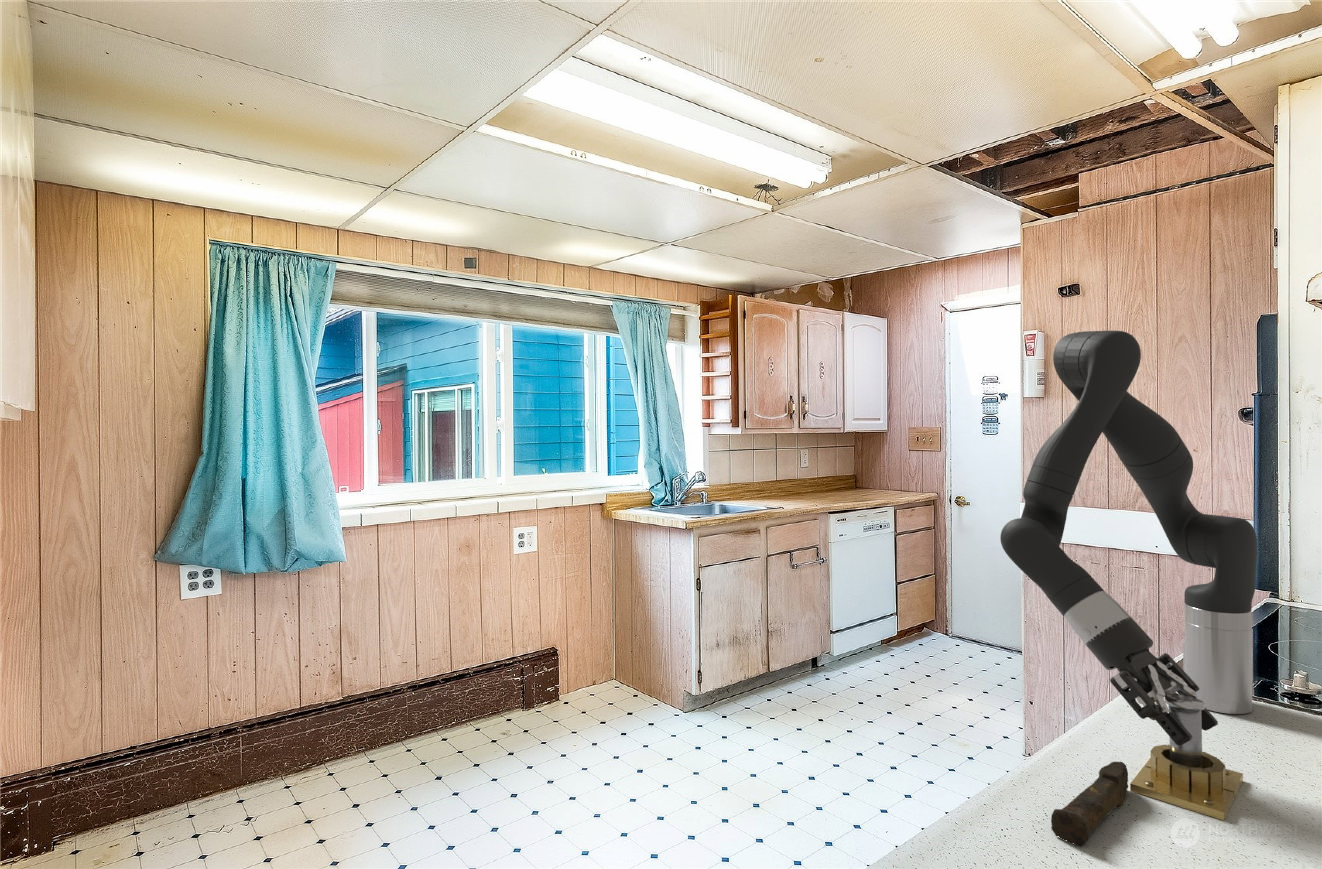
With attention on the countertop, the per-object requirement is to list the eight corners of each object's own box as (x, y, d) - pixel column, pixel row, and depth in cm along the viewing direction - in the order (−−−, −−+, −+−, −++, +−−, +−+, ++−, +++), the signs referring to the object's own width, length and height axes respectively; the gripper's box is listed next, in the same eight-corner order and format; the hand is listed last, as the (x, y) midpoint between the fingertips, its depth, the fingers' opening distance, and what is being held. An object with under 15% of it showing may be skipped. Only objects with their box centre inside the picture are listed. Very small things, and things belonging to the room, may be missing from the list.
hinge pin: (1159, 769, 98) (1158, 693, 98) (1193, 771, 98) (1191, 694, 98) (1178, 784, 94) (1176, 705, 94) (1214, 786, 93) (1212, 706, 94)
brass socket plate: (1156, 756, 104) (1156, 731, 104) (1243, 780, 97) (1242, 753, 97) (1130, 790, 95) (1130, 762, 95) (1223, 820, 87) (1223, 790, 87)
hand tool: (1085, 853, 82) (1085, 814, 82) (1049, 837, 85) (1049, 799, 85) (1148, 800, 93) (1148, 765, 93) (1115, 787, 96) (1115, 754, 96)
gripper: (1101, 623, 98) (1200, 735, 88) (1148, 608, 106) (1244, 709, 96) (1063, 651, 102) (1153, 761, 93) (1111, 634, 110) (1199, 734, 101)
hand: (1199, 734), depth 94 cm, fingers open, 7 cm apart
